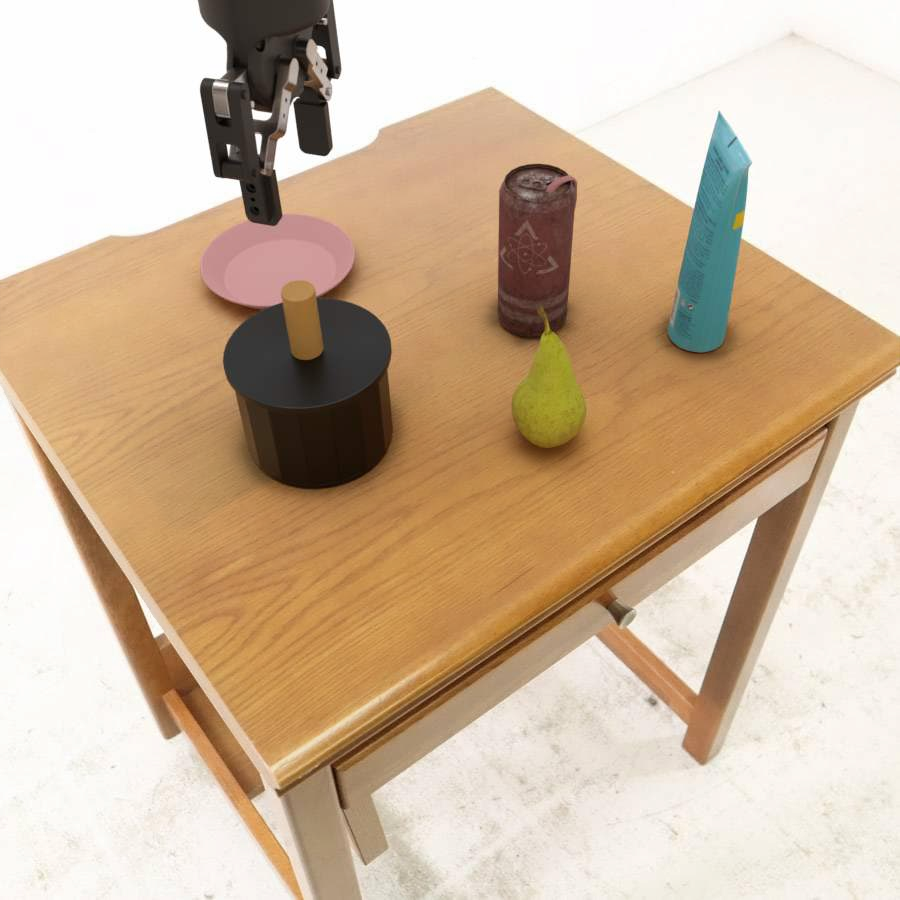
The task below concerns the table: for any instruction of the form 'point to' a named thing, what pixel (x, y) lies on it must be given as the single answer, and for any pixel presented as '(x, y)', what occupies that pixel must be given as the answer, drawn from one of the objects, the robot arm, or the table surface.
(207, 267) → the plate
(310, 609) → the table surface
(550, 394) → the fruit
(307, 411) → the lid
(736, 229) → the tube
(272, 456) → the tin
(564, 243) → the can
